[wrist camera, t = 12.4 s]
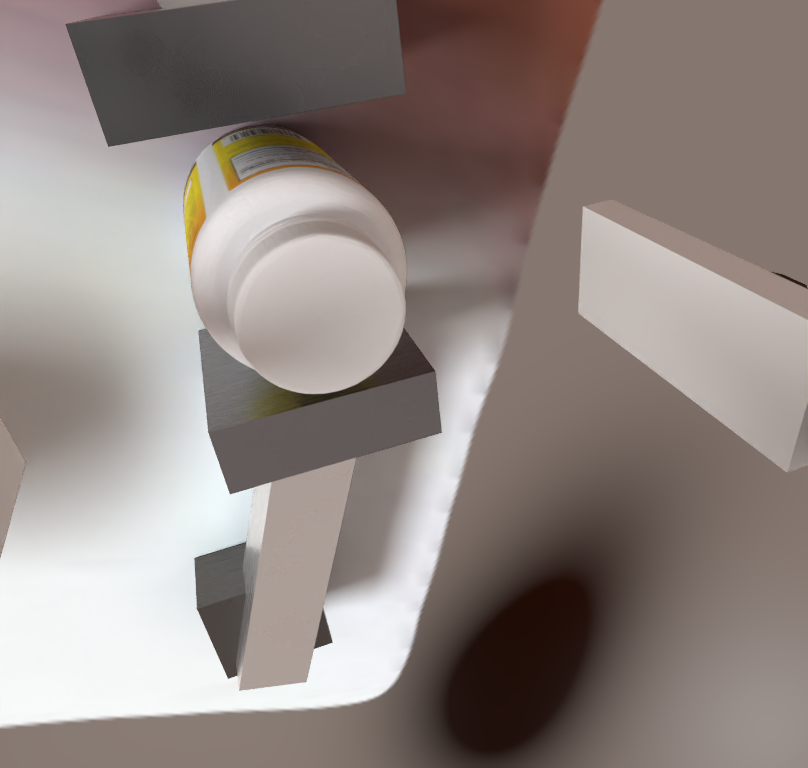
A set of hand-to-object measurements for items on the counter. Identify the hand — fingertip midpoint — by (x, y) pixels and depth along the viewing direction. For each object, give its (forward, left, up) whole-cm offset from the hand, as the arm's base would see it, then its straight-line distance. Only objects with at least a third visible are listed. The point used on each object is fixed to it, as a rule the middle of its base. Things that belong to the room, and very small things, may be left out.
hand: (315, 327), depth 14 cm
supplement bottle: (0, 0, -11) cm, 11 cm away
